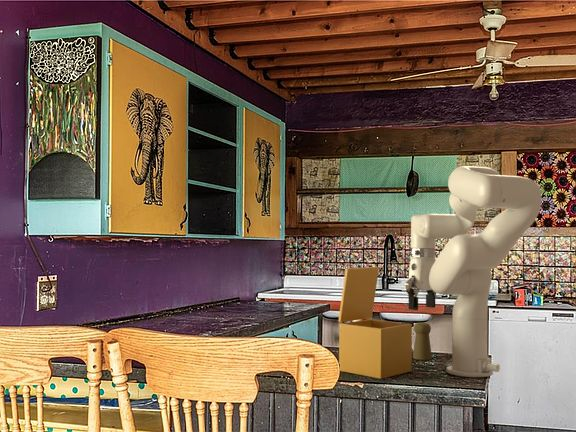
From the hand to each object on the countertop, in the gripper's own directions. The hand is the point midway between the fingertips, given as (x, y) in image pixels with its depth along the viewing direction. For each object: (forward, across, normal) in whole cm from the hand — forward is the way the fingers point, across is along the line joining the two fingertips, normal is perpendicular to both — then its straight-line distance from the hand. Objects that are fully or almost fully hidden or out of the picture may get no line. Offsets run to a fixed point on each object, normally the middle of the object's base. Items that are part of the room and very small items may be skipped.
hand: (422, 308), depth 215 cm
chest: (+15, -27, -2) cm, 31 cm away
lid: (-6, -27, +3) cm, 28 cm away
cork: (+16, 0, 0) cm, 16 cm away
